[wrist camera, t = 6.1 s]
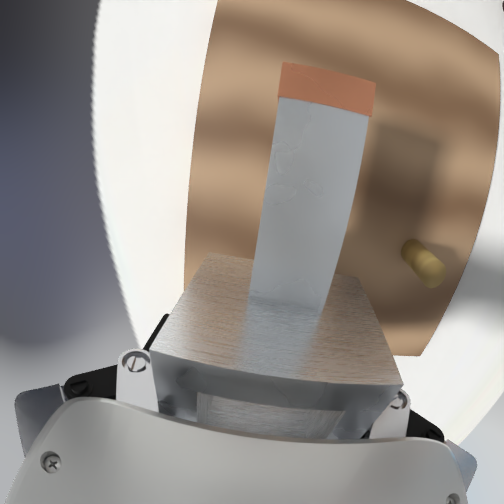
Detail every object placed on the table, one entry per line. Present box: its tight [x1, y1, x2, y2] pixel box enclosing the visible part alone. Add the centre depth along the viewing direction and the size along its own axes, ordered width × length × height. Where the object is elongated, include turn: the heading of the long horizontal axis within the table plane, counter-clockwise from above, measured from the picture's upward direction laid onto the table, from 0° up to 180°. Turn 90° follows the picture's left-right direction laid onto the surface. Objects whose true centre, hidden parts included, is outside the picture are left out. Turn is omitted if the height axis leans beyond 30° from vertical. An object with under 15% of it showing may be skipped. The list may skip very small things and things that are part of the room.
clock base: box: [184, 0, 500, 356], centre depth 13 cm, size 26×20×5 cm
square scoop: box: [149, 62, 404, 439], centre depth 8 cm, size 13×6×6 cm, turn 172°
